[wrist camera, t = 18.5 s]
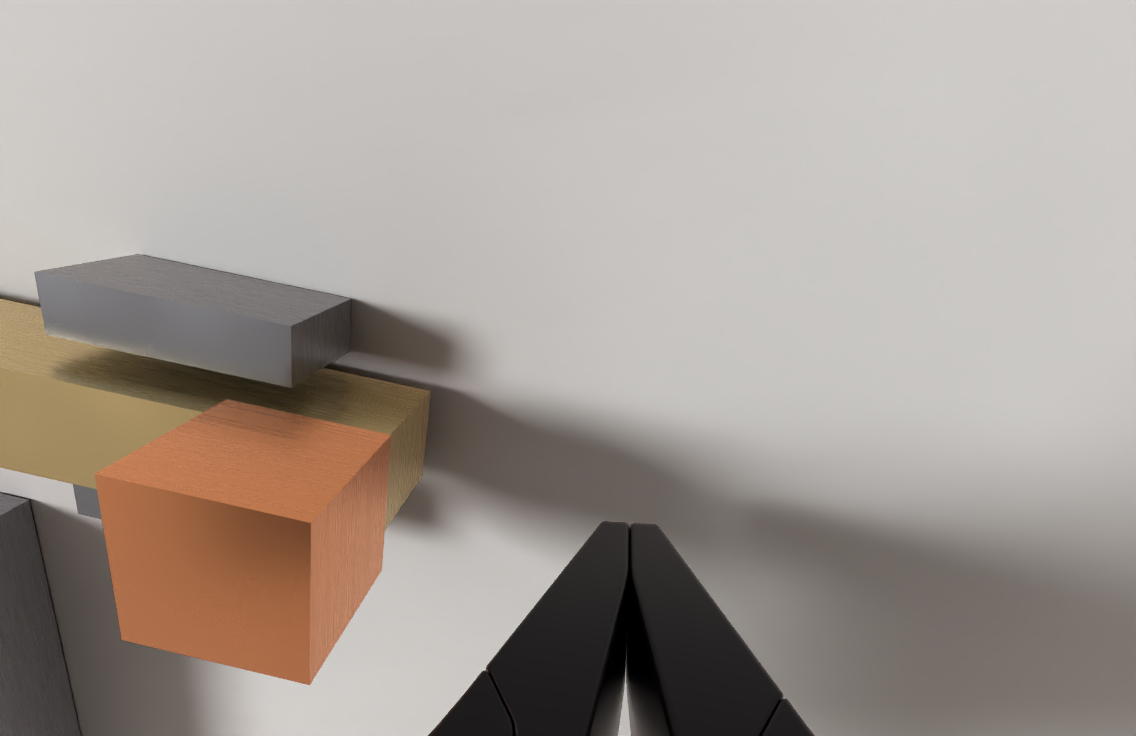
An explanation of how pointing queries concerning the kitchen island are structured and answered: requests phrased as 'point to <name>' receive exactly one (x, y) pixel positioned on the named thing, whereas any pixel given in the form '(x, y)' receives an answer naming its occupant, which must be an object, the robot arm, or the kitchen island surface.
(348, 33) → the kitchen island surface
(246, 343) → the dock
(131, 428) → the lock bar
